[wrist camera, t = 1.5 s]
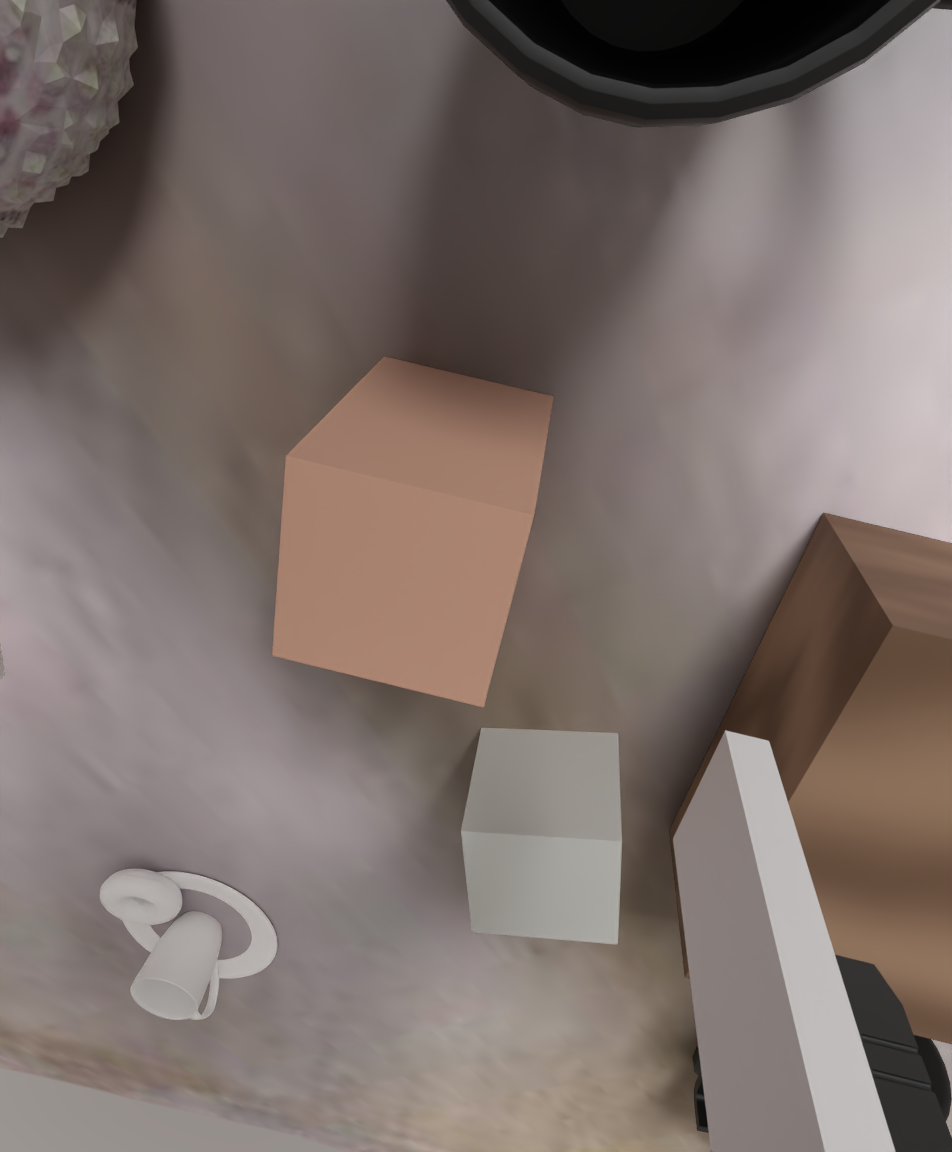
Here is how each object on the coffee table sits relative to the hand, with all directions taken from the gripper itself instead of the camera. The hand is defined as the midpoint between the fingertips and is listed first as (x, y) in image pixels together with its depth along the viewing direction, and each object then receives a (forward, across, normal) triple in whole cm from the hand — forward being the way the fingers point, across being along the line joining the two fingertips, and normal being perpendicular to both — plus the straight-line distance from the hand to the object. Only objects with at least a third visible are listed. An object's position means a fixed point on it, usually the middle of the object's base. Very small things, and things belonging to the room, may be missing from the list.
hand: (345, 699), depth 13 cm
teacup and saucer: (+12, -7, -23) cm, 27 cm away
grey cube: (+11, +6, -12) cm, 17 cm away
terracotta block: (+11, 0, 0) cm, 11 cm away
